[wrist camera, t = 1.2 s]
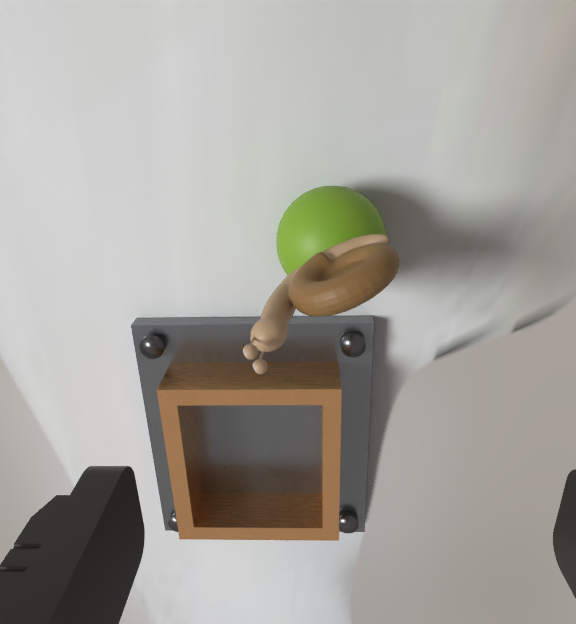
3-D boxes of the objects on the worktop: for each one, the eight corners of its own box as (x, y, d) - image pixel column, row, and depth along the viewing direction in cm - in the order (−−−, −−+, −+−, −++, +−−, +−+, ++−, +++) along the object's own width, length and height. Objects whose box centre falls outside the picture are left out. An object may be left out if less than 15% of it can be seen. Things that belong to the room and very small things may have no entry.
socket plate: (136, 318, 30) (112, 349, 26) (372, 315, 29) (381, 347, 26) (168, 519, 36) (153, 567, 33) (363, 520, 36) (369, 569, 32)
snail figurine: (245, 218, 27) (204, 302, 16) (351, 158, 26) (384, 207, 15) (293, 299, 29) (286, 424, 18) (395, 247, 28) (453, 349, 17)
